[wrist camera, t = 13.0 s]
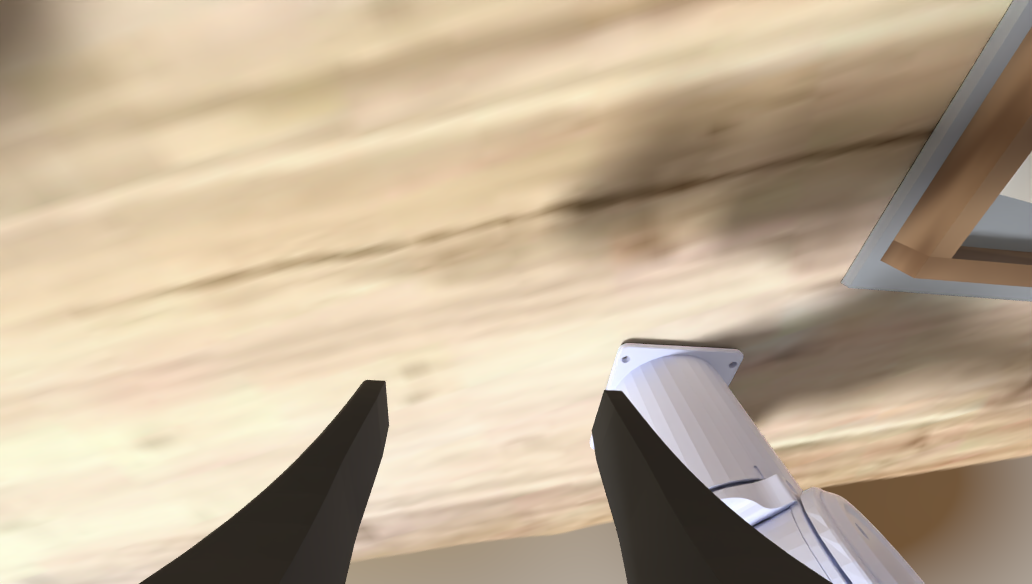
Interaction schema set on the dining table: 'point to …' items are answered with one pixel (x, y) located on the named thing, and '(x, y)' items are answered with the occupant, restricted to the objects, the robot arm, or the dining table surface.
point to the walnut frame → (973, 190)
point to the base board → (1003, 221)
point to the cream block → (1021, 182)
